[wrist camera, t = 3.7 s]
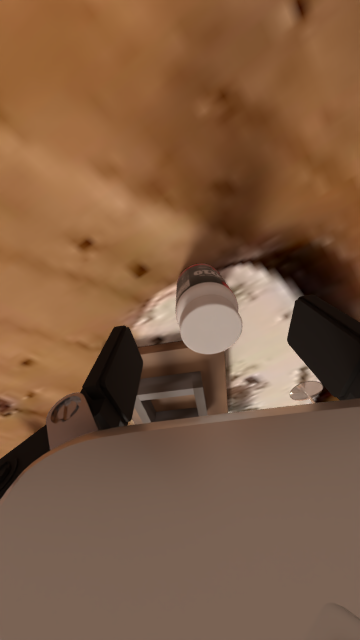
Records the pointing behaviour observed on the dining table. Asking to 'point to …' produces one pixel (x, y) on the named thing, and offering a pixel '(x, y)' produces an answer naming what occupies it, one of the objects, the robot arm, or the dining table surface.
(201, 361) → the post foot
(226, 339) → the pill bottle
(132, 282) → the dining table surface
